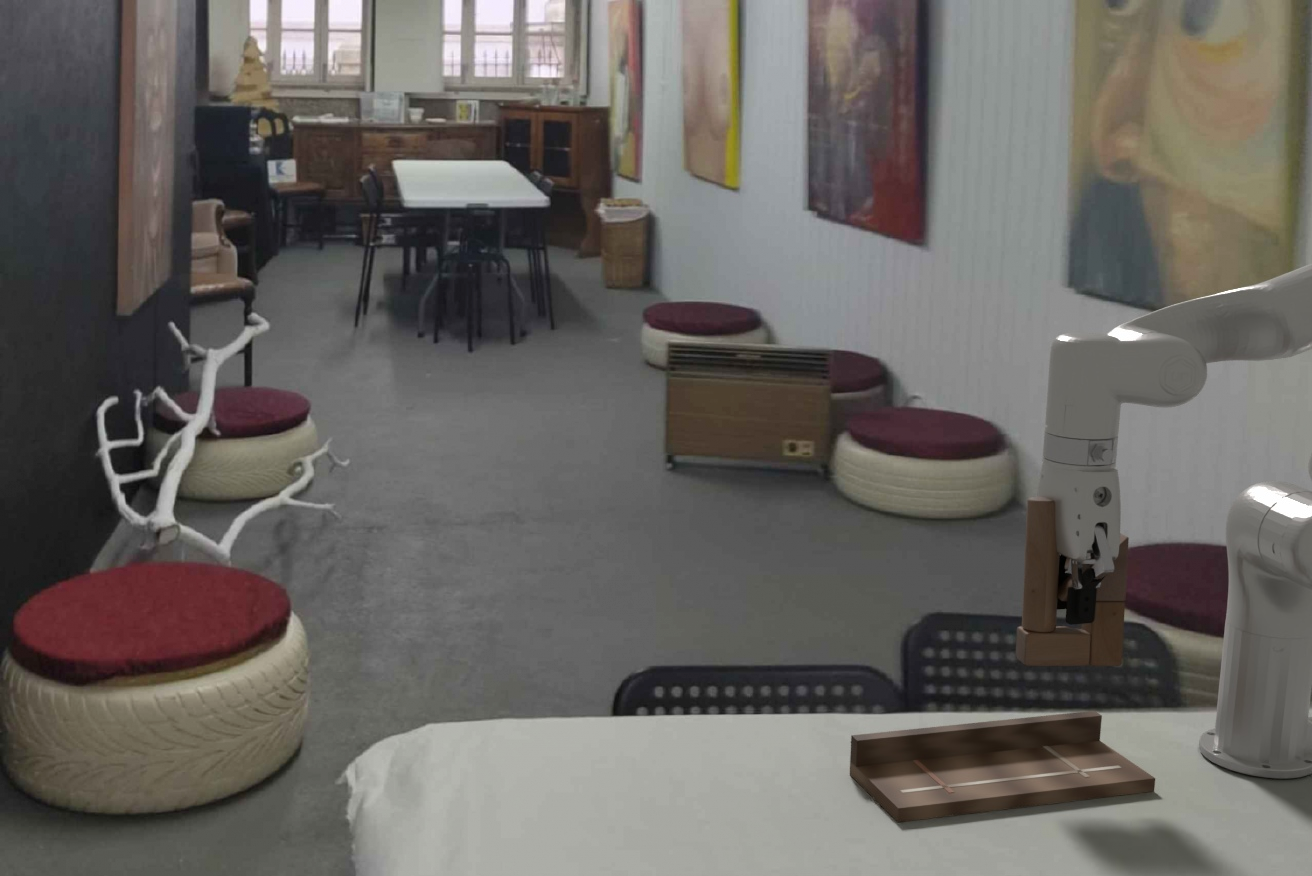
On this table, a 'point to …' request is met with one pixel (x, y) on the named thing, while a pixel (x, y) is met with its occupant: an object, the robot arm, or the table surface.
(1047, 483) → the robot arm
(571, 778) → the table surface
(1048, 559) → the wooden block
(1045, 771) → the marking board
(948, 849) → the table surface
